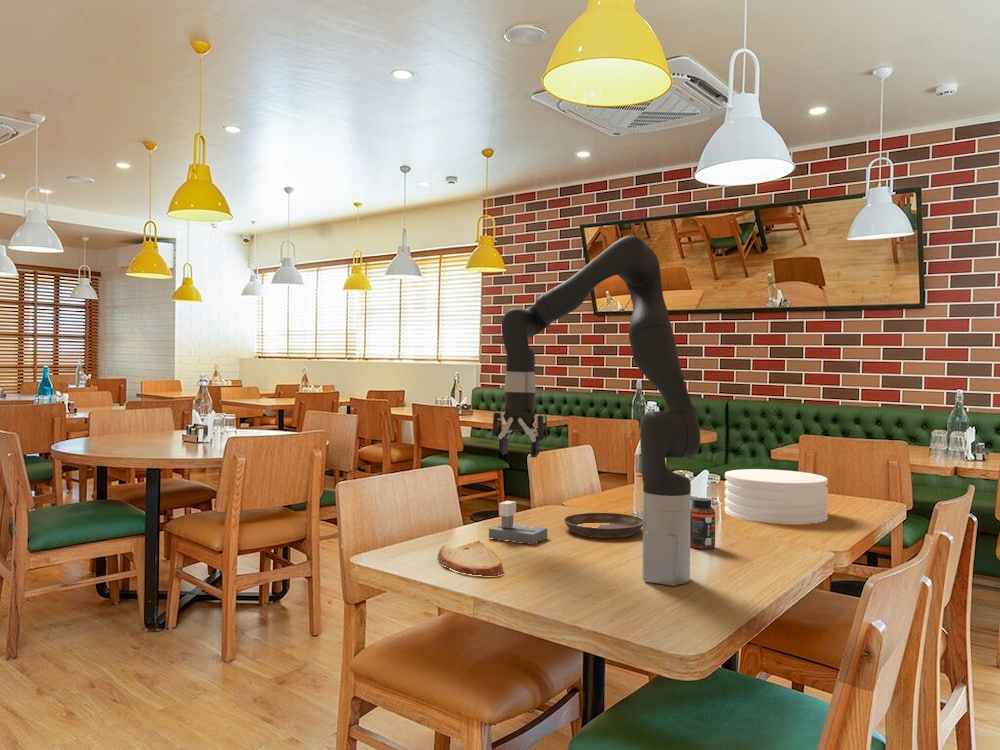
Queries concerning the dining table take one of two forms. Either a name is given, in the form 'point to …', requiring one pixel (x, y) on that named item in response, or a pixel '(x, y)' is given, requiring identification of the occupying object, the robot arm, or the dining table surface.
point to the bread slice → (471, 559)
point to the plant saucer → (619, 528)
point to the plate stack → (776, 496)
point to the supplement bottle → (702, 524)
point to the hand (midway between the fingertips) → (519, 455)
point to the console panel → (518, 533)
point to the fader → (507, 513)
